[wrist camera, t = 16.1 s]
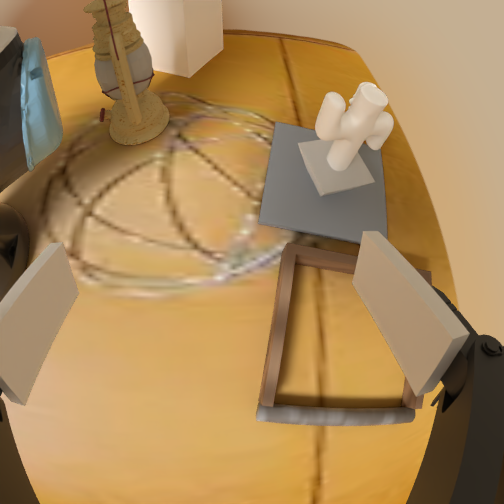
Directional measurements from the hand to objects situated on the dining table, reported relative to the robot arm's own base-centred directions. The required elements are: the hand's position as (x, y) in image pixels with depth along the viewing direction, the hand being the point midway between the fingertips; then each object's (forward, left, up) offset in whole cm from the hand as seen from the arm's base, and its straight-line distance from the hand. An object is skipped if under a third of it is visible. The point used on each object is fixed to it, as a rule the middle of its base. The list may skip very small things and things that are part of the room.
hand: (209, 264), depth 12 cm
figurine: (-2, +21, -18) cm, 28 cm away
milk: (-38, +26, -19) cm, 50 cm away
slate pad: (-2, +21, -18) cm, 28 cm away
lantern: (-28, +10, -19) cm, 35 cm away
